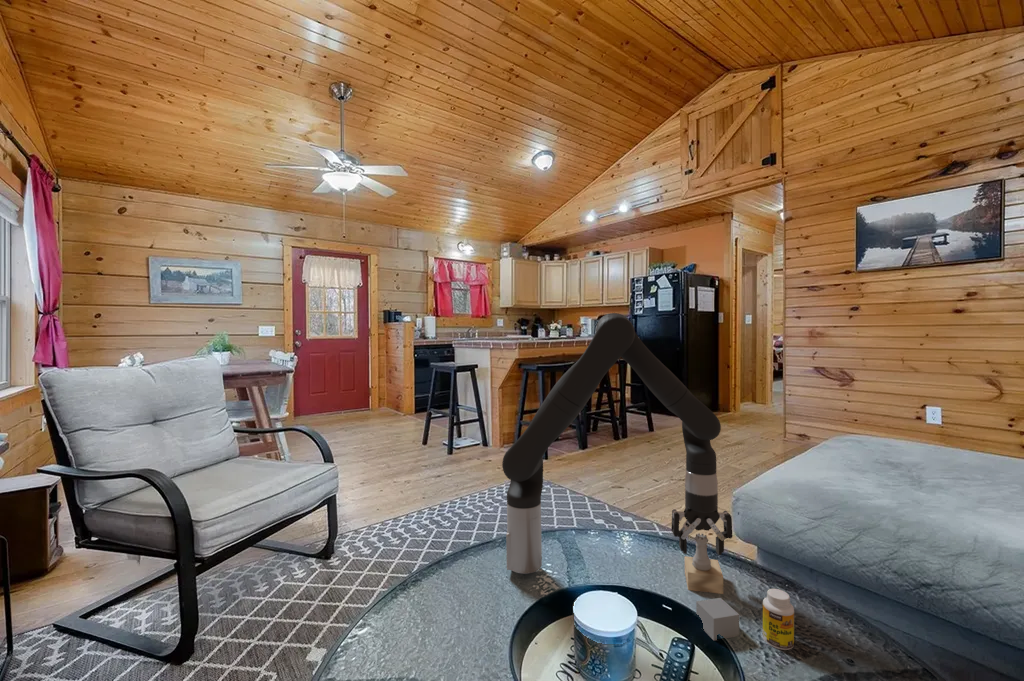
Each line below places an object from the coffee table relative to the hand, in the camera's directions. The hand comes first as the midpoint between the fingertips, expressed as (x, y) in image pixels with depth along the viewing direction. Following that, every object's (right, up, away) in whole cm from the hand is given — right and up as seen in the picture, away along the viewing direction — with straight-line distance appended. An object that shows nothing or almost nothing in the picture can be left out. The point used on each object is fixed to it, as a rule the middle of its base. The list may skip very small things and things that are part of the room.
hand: (701, 552), depth 112 cm
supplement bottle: (+7, -9, -21) cm, 24 cm away
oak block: (+1, -9, +1) cm, 9 cm away
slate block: (-4, -9, -16) cm, 19 cm away
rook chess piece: (0, -4, 0) cm, 4 cm away
